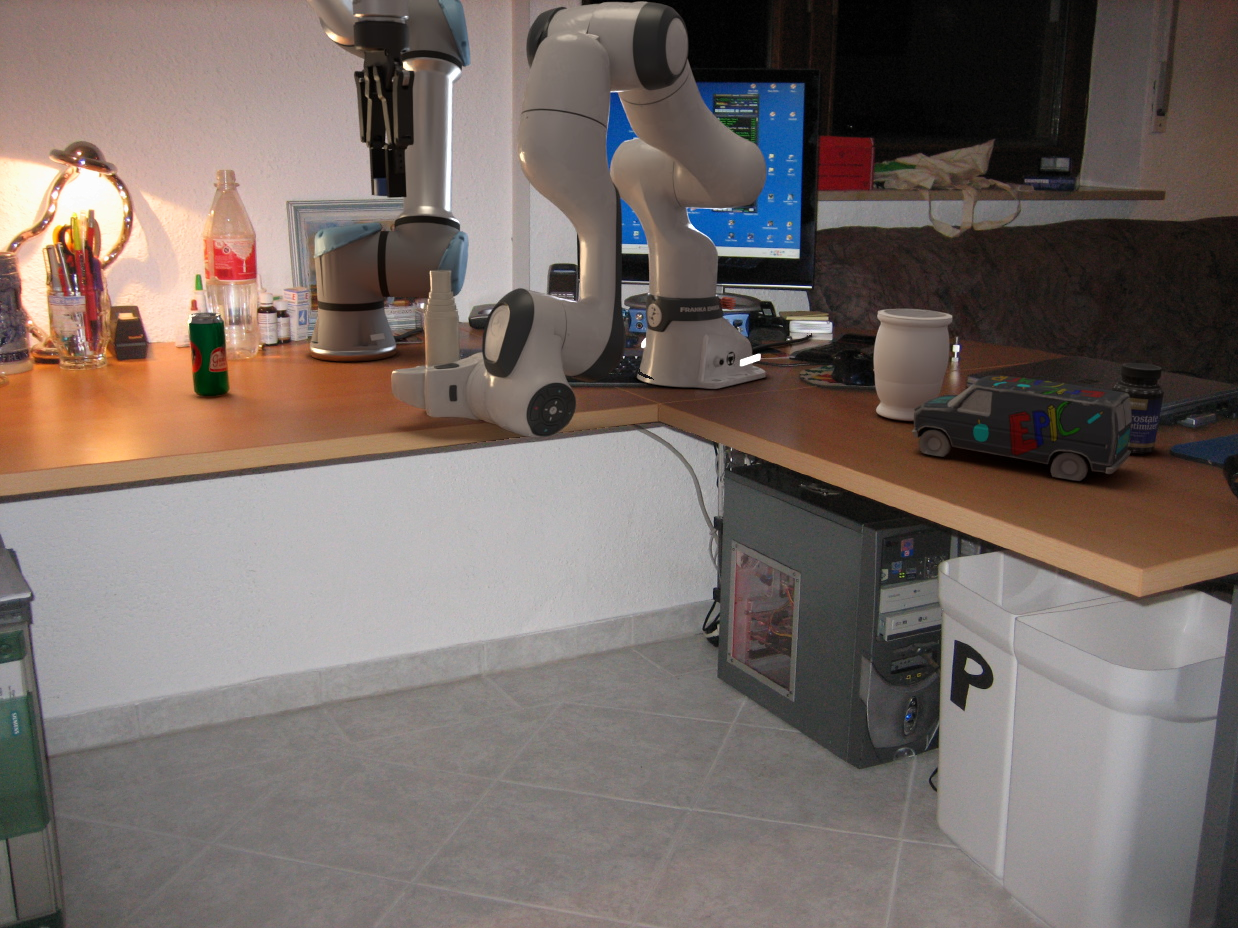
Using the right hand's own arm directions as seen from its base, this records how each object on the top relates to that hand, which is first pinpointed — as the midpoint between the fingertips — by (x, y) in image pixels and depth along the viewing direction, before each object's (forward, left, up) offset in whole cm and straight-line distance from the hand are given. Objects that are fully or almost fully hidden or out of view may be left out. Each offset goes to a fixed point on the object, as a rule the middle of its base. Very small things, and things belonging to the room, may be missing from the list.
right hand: (439, 369), depth 153 cm
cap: (+1, -12, +26) cm, 28 cm away
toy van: (-49, +62, -6) cm, 79 cm away
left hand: (+1, -12, +24) cm, 26 cm away
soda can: (+24, -27, -6) cm, 37 cm away
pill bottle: (-66, +67, -6) cm, 94 cm away
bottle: (0, +1, -6) cm, 6 cm away
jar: (-56, +39, -6) cm, 68 cm away
